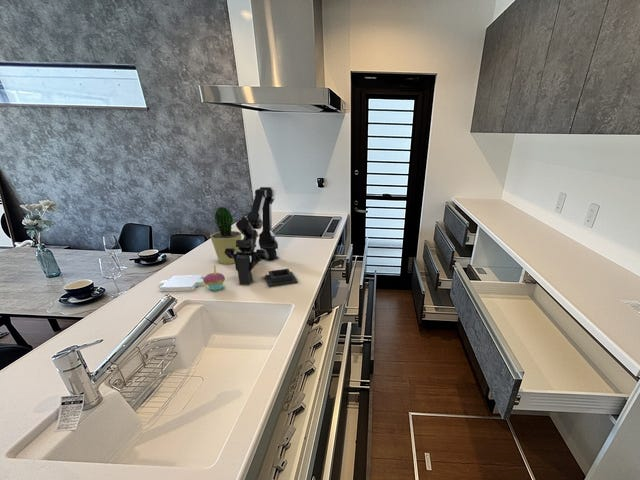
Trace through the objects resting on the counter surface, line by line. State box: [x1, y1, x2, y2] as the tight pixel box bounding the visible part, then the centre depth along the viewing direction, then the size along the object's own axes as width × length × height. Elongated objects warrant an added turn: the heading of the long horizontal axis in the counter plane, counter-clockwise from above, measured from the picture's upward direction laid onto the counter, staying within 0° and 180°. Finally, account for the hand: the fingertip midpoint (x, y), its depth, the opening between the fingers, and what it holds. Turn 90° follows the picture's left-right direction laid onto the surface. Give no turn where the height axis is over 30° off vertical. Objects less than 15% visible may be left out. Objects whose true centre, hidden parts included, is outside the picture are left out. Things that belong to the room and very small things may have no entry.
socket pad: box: [264, 268, 298, 288], centre depth 145 cm, size 13×13×4 cm
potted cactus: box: [209, 206, 243, 265], centre depth 162 cm, size 15×15×30 cm
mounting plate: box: [159, 274, 206, 292], centre depth 137 cm, size 18×13×2 cm
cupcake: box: [203, 264, 226, 291], centre depth 133 cm, size 9×8×12 cm
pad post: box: [236, 255, 254, 286], centre depth 139 cm, size 4×4×13 cm
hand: (243, 270), depth 138 cm, fingers open, 6 cm apart
